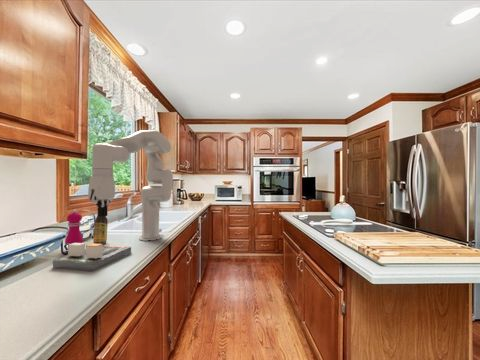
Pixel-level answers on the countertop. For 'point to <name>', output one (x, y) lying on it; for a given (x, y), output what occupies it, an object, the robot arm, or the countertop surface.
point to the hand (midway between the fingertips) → (102, 216)
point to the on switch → (76, 249)
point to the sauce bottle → (100, 230)
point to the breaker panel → (92, 259)
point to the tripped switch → (94, 250)
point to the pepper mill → (74, 228)
